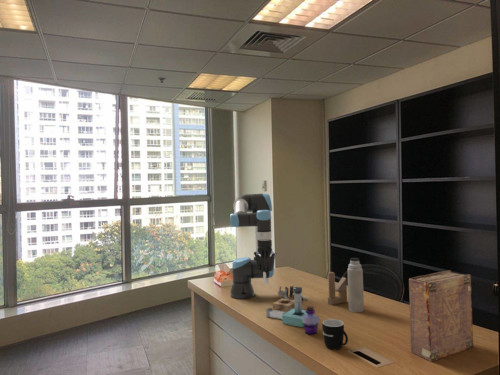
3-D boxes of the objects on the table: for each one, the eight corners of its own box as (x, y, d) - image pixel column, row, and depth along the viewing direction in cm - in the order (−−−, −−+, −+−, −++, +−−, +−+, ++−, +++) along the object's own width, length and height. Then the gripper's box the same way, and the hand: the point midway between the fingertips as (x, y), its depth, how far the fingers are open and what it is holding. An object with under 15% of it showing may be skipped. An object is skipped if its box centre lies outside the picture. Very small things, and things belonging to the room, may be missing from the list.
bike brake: (275, 296, 231) (294, 310, 214) (276, 285, 230) (295, 298, 213) (293, 293, 238) (313, 306, 220) (294, 282, 237) (314, 295, 219)
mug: (318, 346, 160) (317, 322, 160) (332, 340, 165) (332, 317, 165) (340, 355, 150) (339, 330, 150) (355, 349, 155) (354, 325, 155)
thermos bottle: (350, 307, 209) (348, 256, 209) (364, 308, 205) (363, 257, 205) (347, 311, 201) (345, 259, 201) (362, 313, 198) (361, 260, 198)
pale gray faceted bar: (266, 316, 197) (266, 309, 197) (269, 314, 200) (269, 307, 200) (289, 320, 190) (289, 313, 190) (292, 318, 193) (292, 311, 193)
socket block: (282, 323, 187) (282, 315, 187) (293, 316, 197) (292, 308, 197) (304, 327, 181) (304, 319, 181) (314, 319, 191) (314, 311, 191)
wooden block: (347, 302, 217) (346, 271, 216) (331, 305, 213) (330, 273, 213) (343, 300, 220) (342, 270, 220) (327, 303, 216) (326, 272, 216)
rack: (273, 312, 204) (272, 303, 204) (281, 307, 212) (281, 298, 212) (289, 315, 198) (289, 305, 198) (298, 309, 207) (297, 300, 207)
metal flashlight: (292, 322, 188) (291, 288, 188) (296, 319, 192) (295, 286, 192) (300, 323, 186) (299, 289, 186) (304, 320, 190) (303, 287, 190)
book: (452, 339, 162) (450, 270, 162) (473, 347, 153) (471, 274, 153) (410, 352, 151) (408, 278, 150) (431, 362, 142) (428, 283, 142)
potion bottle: (298, 330, 177) (297, 305, 177) (314, 327, 180) (313, 302, 180) (307, 337, 169) (306, 310, 169) (323, 334, 172) (323, 308, 172)
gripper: (250, 239, 199) (251, 284, 200) (271, 241, 192) (273, 287, 193) (257, 237, 206) (259, 280, 206) (278, 239, 198) (280, 283, 199)
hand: (265, 283), depth 199 cm, fingers closed
